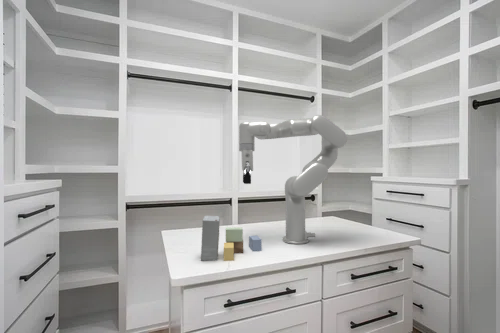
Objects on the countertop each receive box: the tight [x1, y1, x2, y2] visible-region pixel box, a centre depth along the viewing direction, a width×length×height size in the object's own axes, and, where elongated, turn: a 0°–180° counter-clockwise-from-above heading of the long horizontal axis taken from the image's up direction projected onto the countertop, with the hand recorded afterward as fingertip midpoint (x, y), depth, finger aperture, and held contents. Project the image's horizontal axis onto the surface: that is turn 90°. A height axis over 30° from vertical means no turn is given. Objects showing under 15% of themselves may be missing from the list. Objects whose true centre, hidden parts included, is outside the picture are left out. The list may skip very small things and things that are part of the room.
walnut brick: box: [225, 240, 244, 255], centre depth 107 cm, size 7×4×5 cm, turn 95°
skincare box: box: [200, 215, 221, 262], centre depth 100 cm, size 8×7×16 cm
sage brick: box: [225, 226, 244, 243], centre depth 107 cm, size 7×4×5 cm, turn 94°
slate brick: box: [248, 234, 263, 252], centre depth 111 cm, size 7×4×5 cm, turn 14°
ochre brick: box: [223, 242, 235, 262], centre depth 100 cm, size 7×4×5 cm, turn 4°
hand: (246, 183), depth 123 cm, fingers open, 9 cm apart
